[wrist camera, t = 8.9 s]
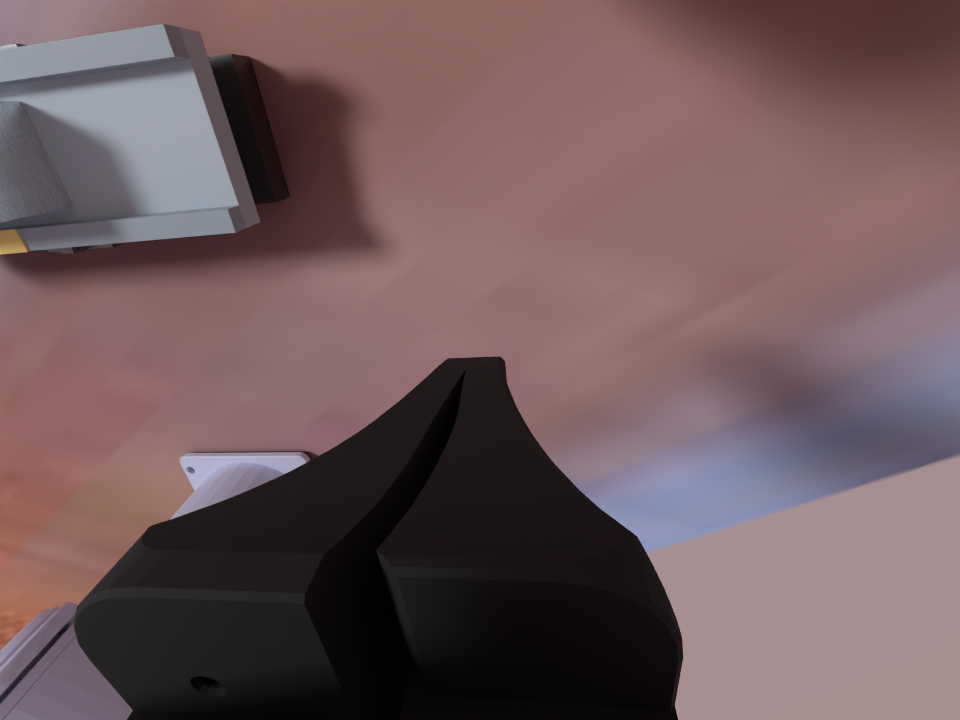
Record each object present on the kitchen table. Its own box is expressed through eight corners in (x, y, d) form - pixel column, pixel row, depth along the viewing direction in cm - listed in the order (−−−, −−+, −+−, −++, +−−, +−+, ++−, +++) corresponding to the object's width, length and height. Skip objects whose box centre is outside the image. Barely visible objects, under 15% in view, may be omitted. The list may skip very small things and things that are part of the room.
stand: (296, 223, 20) (269, 237, 18) (-48, 253, 23) (-108, 268, 21) (239, 20, 17) (197, 8, 15) (-158, 84, 19) (-241, 81, 17)
